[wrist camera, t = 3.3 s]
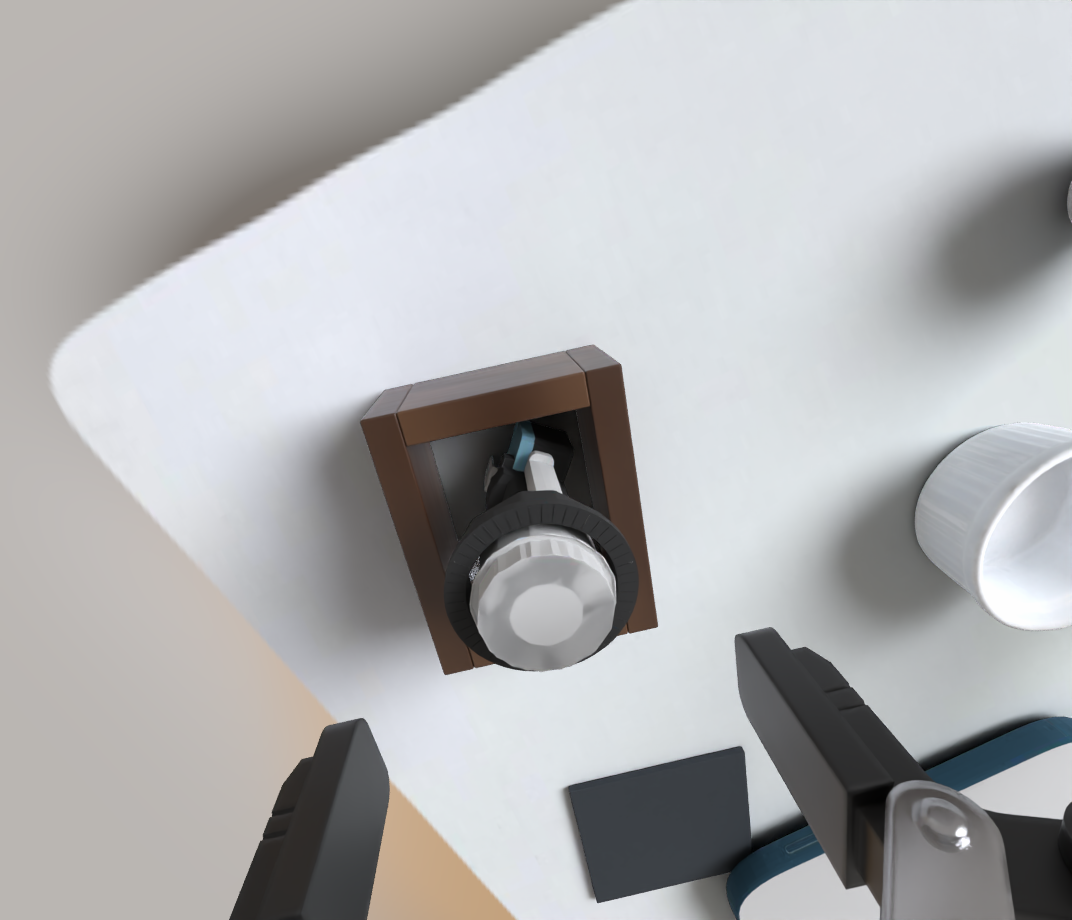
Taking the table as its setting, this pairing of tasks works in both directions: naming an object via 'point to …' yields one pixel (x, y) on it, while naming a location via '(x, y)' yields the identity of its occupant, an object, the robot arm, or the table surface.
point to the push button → (538, 564)
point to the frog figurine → (1070, 202)
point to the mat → (664, 824)
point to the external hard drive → (980, 774)
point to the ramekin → (1005, 523)
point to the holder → (487, 402)
